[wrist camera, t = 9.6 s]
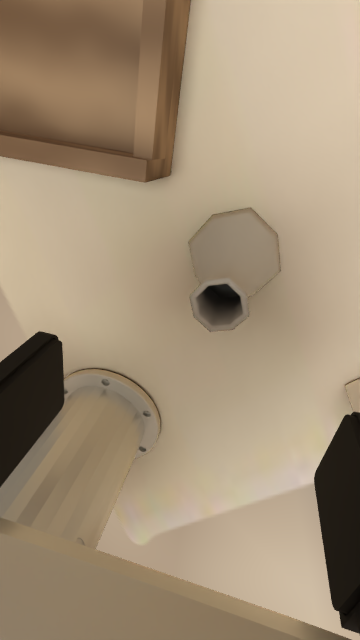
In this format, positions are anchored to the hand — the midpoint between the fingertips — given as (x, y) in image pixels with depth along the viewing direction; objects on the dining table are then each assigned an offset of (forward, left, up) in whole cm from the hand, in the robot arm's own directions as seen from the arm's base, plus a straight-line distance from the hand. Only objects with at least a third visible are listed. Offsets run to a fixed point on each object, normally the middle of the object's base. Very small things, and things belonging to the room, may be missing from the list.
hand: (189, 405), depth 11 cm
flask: (0, 0, -18) cm, 18 cm away
